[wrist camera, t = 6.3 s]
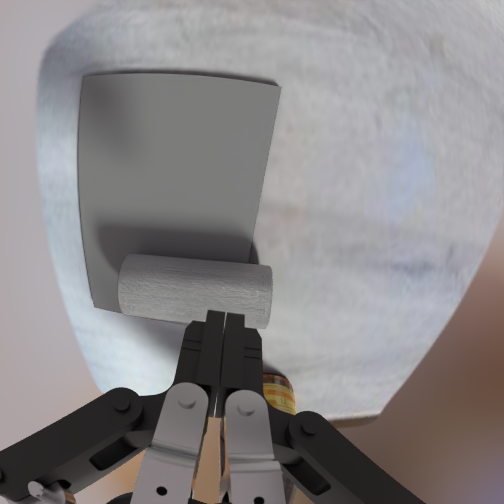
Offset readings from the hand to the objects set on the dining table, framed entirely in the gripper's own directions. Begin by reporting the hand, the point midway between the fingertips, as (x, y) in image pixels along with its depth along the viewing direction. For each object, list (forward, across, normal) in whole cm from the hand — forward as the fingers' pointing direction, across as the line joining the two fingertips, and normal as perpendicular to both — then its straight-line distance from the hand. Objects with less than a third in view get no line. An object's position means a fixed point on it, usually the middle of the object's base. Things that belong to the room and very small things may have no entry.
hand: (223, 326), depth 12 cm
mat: (+10, +5, 0) cm, 12 cm away
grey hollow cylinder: (+8, -3, +4) cm, 9 cm away
